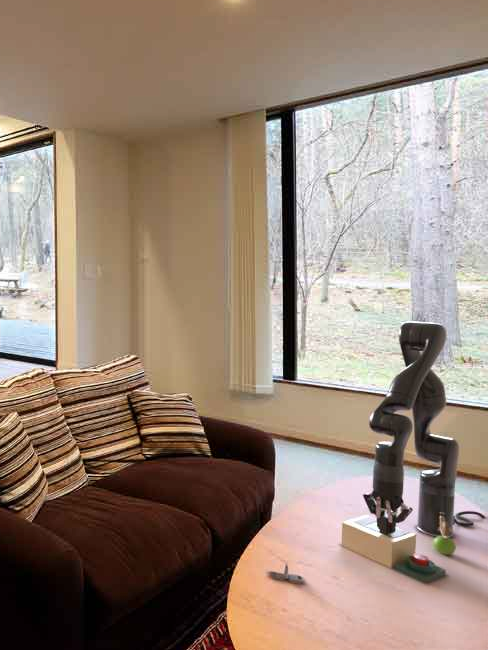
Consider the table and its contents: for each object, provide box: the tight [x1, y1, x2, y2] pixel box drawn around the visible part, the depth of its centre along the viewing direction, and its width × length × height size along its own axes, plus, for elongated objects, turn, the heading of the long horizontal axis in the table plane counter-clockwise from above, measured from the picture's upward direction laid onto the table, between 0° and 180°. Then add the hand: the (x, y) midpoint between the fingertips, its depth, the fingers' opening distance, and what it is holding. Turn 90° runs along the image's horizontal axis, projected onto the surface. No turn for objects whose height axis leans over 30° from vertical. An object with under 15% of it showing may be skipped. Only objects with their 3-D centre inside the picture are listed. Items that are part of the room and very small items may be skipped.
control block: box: [394, 555, 447, 584], centre depth 159 cm, size 10×8×4 cm
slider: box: [379, 513, 389, 535], centre depth 166 cm, size 3×2×6 cm, turn 113°
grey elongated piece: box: [269, 562, 304, 584], centre depth 157 cm, size 8×3×4 cm, turn 65°
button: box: [413, 553, 430, 565], centre depth 159 cm, size 4×4×2 cm
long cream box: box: [341, 514, 417, 569], centre depth 171 cm, size 12×15×8 cm
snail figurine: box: [432, 512, 457, 556], centre depth 170 cm, size 5×6×12 cm
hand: (385, 531), depth 167 cm, fingers closed on slider, 2 cm apart
